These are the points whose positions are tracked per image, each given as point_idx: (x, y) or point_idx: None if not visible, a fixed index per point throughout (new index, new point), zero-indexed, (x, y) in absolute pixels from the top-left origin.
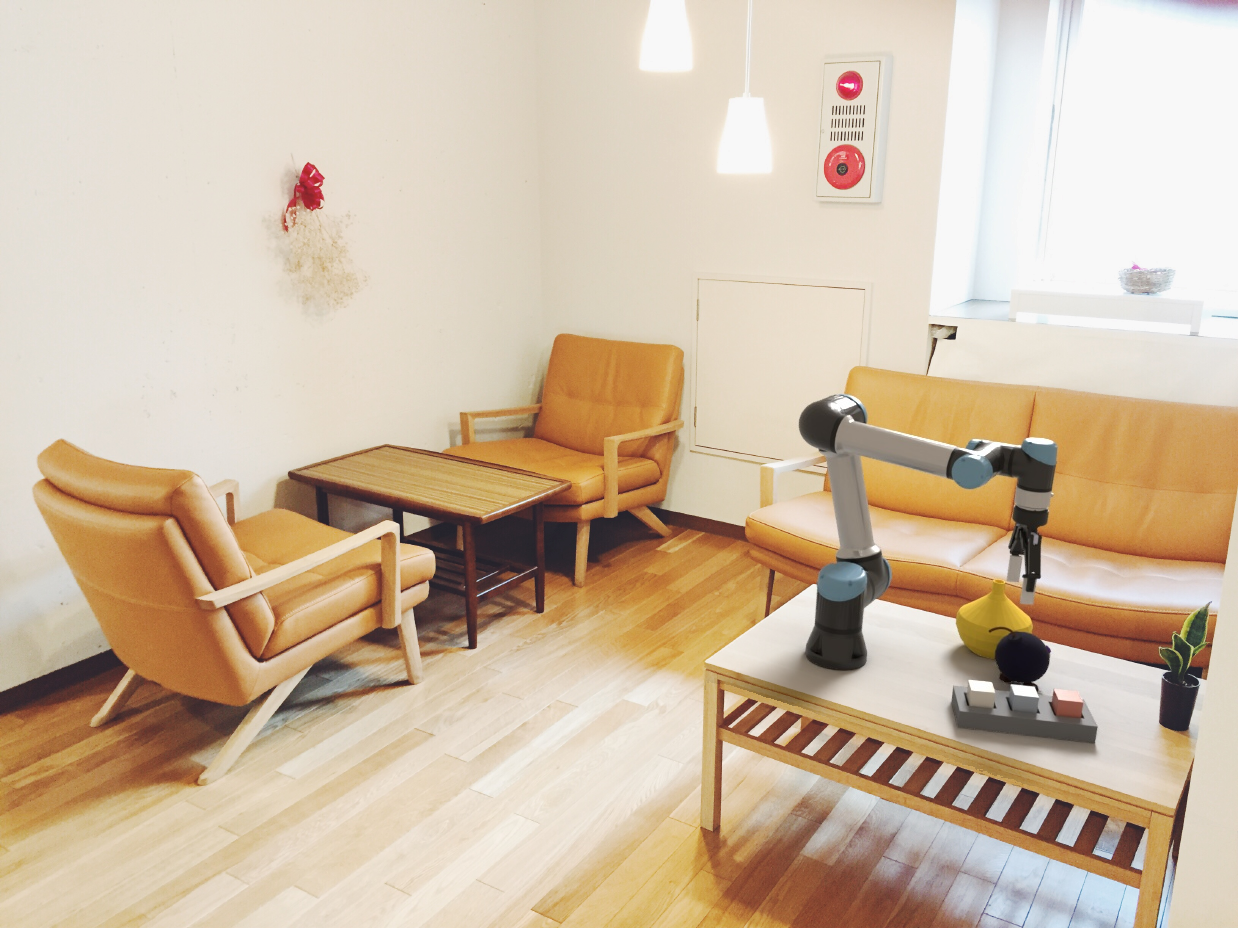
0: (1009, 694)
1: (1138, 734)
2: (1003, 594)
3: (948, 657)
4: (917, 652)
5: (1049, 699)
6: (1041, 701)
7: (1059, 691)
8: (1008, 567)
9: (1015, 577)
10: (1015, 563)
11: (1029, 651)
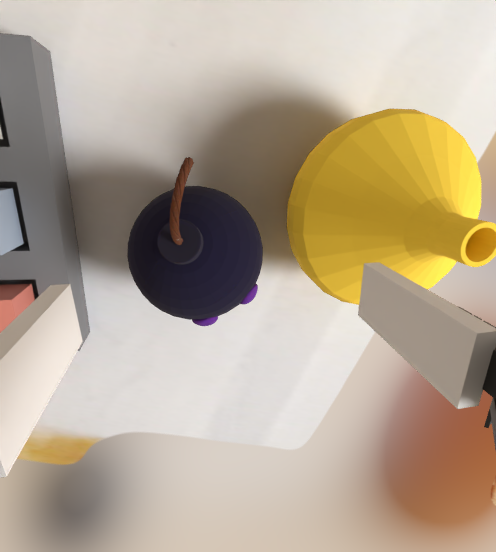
0: (1, 189)
1: (49, 407)
2: (430, 250)
3: (301, 94)
4: (318, 8)
5: (48, 283)
6: (28, 264)
7: (2, 310)
8: (423, 289)
9: (372, 307)
10: (426, 340)
11: (139, 272)
